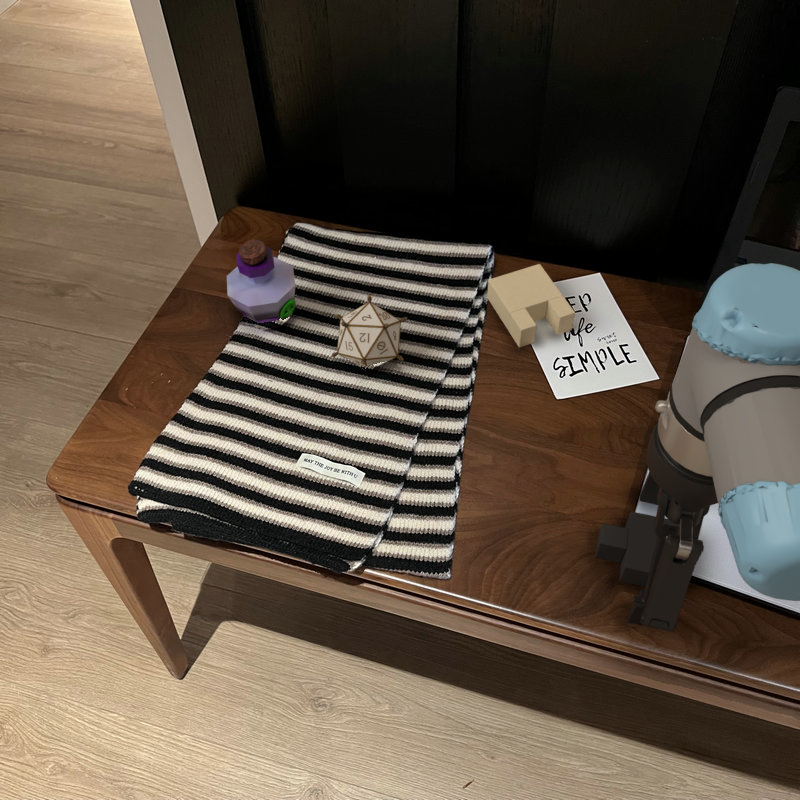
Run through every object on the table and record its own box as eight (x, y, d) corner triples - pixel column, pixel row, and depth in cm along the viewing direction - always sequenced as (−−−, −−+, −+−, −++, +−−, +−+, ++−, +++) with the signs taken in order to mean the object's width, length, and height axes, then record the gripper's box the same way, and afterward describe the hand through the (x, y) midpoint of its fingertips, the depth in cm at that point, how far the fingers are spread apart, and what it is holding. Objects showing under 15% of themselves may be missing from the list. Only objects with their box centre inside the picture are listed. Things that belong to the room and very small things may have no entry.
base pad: (570, 335, 94) (575, 312, 91) (518, 352, 93) (521, 330, 89) (536, 286, 99) (539, 263, 96) (486, 302, 98) (488, 279, 94)
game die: (369, 366, 97) (370, 286, 94) (420, 379, 92) (423, 294, 89) (315, 378, 91) (315, 293, 88) (367, 393, 85) (368, 302, 82)
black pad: (674, 541, 77) (684, 522, 74) (671, 596, 74) (681, 579, 70) (598, 525, 78) (604, 505, 75) (591, 579, 75) (597, 561, 72)
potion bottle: (293, 350, 94) (276, 279, 85) (226, 340, 96) (202, 269, 86) (313, 299, 99) (299, 227, 90) (249, 291, 101) (229, 218, 91)
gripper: (665, 314, 66) (619, 451, 83) (642, 575, 52) (593, 675, 69) (757, 328, 65) (692, 464, 82) (760, 601, 51) (680, 696, 68)
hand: (646, 561), depth 76 cm, fingers open, 12 cm apart
